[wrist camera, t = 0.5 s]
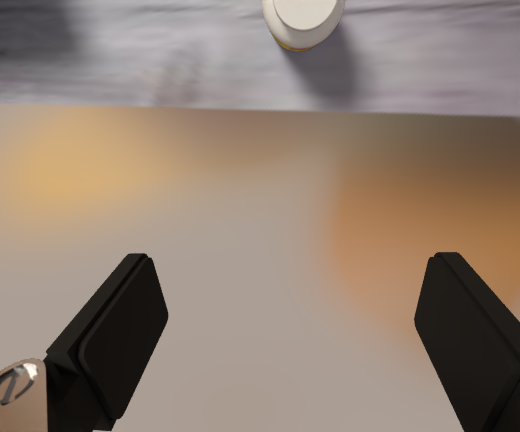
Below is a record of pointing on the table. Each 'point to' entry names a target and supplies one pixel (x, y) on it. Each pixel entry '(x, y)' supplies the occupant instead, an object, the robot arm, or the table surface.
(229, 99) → the table surface
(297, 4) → the supplement bottle
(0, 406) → the robot arm
